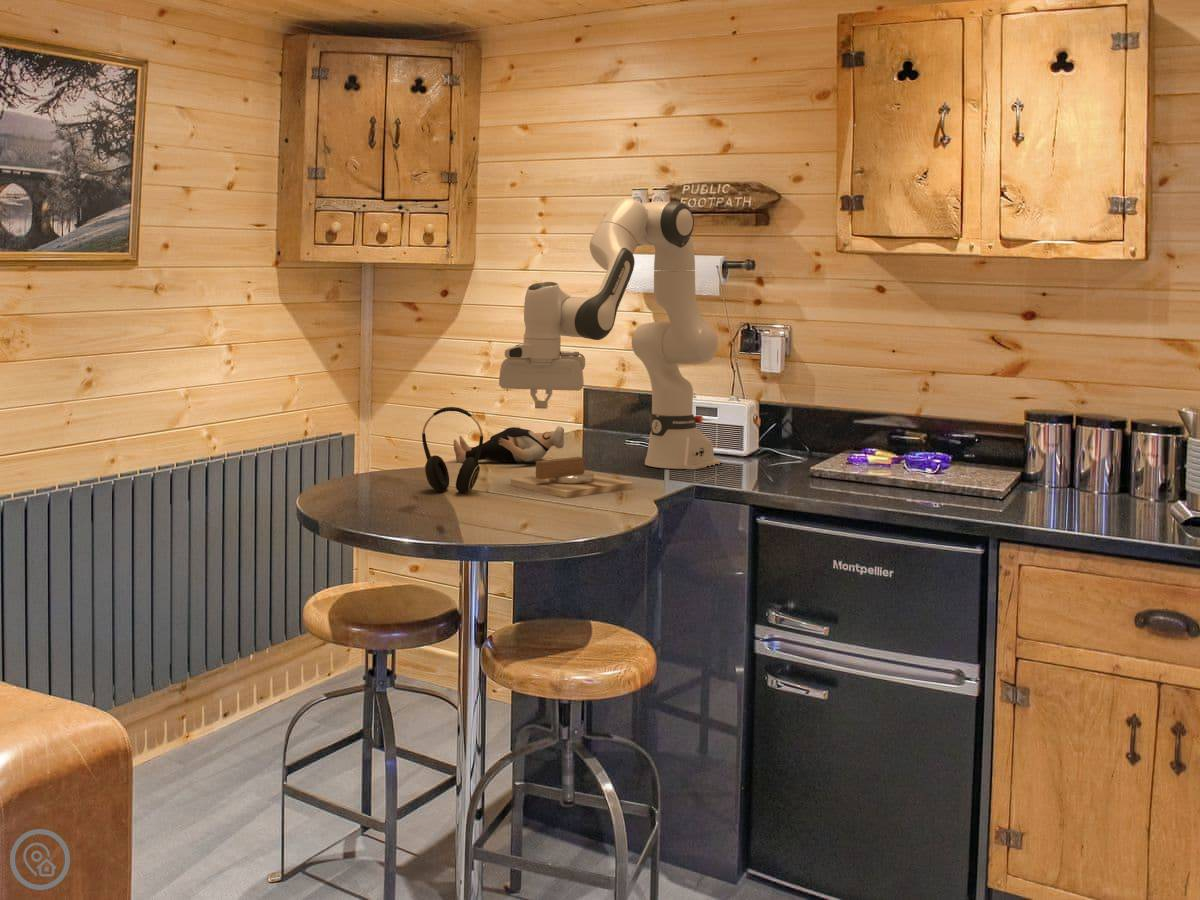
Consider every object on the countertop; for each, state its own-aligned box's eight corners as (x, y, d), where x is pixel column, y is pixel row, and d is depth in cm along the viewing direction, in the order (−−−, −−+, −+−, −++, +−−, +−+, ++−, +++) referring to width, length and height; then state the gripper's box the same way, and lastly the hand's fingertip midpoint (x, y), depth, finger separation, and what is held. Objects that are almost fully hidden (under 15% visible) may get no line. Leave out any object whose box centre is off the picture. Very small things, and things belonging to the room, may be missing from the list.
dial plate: (576, 476, 287) (576, 470, 287) (632, 488, 271) (632, 481, 271) (510, 484, 273) (510, 477, 273) (565, 498, 258) (565, 490, 257)
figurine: (463, 431, 321) (566, 414, 318) (470, 467, 323) (572, 450, 319) (445, 442, 299) (555, 423, 295) (453, 480, 300) (563, 462, 297)
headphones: (428, 487, 268) (428, 403, 265) (488, 490, 266) (488, 406, 263) (416, 493, 260) (415, 407, 257) (477, 496, 257) (478, 410, 254)
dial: (574, 474, 280) (574, 453, 279) (603, 480, 272) (603, 459, 271) (524, 480, 270) (524, 459, 269) (553, 486, 261) (553, 464, 261)
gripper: (586, 351, 271) (585, 408, 272) (502, 349, 272) (501, 405, 274) (584, 352, 264) (583, 410, 266) (498, 350, 266) (497, 408, 267)
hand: (541, 408), depth 270 cm, fingers closed
